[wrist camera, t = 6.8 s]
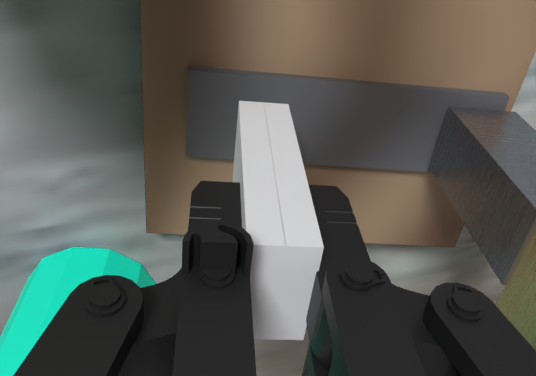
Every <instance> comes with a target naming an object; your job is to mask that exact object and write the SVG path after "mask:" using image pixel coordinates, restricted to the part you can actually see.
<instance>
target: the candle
mask: <svg viewBox="0 0 536 376" xmlns="http://www.w3.org/2000/svg"><path fill="white" fill-rule="evenodd" d="M104 275H117V276H123V277H125V278H128V279H131V280H132V281H134V282H135V283H136V284H137V285H138V286H139V287H140V288H142V287H147V286H151V285H155V282H154V281H153V280H152V278H151V277H150V276H149V274H148V273H147V272H146V270H145V269H144V268H143V266H142V265H141V264H139V263H137V262H135V261H133V260H131V259H129V258H127V257H125V256H123V255H121V254H119V253H117V252H115V251H113V250H111V249H99V248H85V247H71V248H68V249H66V250H63V251H60V252H57V253H55V254H52V255H49V256H46V257H44V258H42V260H41V261H40V262H39V264H38V265H37V267H36V268H35V269H34V271H33V272H32V274H31V275H30V276H29V278H28V279H27V282H26V284H25V286H24V288H23V290H22V292H21V294H20V296H19V298H18V301H17V303H16V305H15V307H14V309H13V311H12V313H11V315H10V317H9V320H8V322H7V324H6V326H5V328H4V330H3V332H2V334H1V336H0V376H13V375H14V374H15V372H16V371H17V369H18V368H19V367H20V365H21V364H22V362H23V361H24V359H25V358H26V356H27V355H28V354H29V352H30V351H31V349H32V348H33V346H34V345H35V344H36V342H37V341H38V339H39V338H40V336H41V335H42V333H43V332H44V331H45V329H46V328H47V326H48V325H49V323H50V322H51V320H52V319H53V318H54V316H55V315H56V313H57V312H58V310H59V309H60V307H61V306H62V305H63V303H64V302H65V300H66V299H67V297H68V296H69V294H70V293H71V292H72V291H73V290H74V289H75V288H76V287H77V286H78V285H79V284H81V283H83V282H85V281H87V280H89V279H91V278H94V277H99V276H104Z"/></svg>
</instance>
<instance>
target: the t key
mask: <svg viewBox="0 0 536 376" xmlns="http://www.w3.org/2000/svg"><path fill="white" fill-rule="evenodd" d="M429 168H430V170H431V171H432V173H433V174H434V176H435V178H436V179H437V181H438V182H439V184H440V186H441V187H442V189H443V190H444V192H445V194H446V195H447V197H448V198H449V200H450V202H451V203H452V205H453V206H454V208H455V210H456V211H457V213H458V214H459V216H460V218H461V219H462V221H463V222H464V224H465V226H466V227H467V229H468V230H469V232H470V234H471V235H472V237H473V238H474V240H475V242H476V243H477V245H478V246H479V248H480V250H481V251H482V253H483V254H484V256H485V258H486V259H487V261H488V262H489V264H490V266H491V267H492V269H493V270H494V272H495V274H496V275H497V277H498V278H499V280H500V282H501V283H502V285H505V287H504V289H503V291H502V293H501V295H500V297H499V299H498V301H497V303H496V306H497V308H498V309H499V310H500V311H501V312H502V313H503V314H504V316H505V317H506V318H507V319H508V320H509V321H510V322H511V323H512V325H513V326H514V327H515V328H516V329H517V330H518V331H519V332H520V334H521V335H522V336H523V337H524V338H525V339H526V340H527V341H528V343H529V344H530V345H531V346H532V347H533V348H534V349H535V351H536V131H535V130H534V129H533V128H532V127H531V126H530V125H529V124H528V123H527V122H526V121H525V120H524V119H522V118H521V117H520V116H519V115H518V114H517V113H516V112H510V111H498V110H485V109H473V108H460V107H449V108H448V111H447V114H446V117H445V120H444V123H443V126H442V129H441V132H440V135H439V138H438V141H437V144H436V147H435V150H434V153H433V156H432V159H431V162H430V165H429Z"/></svg>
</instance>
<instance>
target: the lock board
mask: <svg viewBox="0 0 536 376" xmlns="http://www.w3.org/2000/svg"><path fill="white" fill-rule="evenodd" d="M140 24H141V59H142V94H143V129H144V165H145V200H146V233H160V234H181V235H185V234H186V232H188V224H189V214H190V203H191V193H192V191H193V190H194V188H195V187H196V186H197V185H198V184H199V182H200V181H218V182H233V167H234V154H235V142H236V129H237V117H238V105H239V101H251V102H265V103H280V104H289V109H290V113H291V117H292V121H293V125H294V129H295V133H296V137H297V141H298V145H299V149H300V153H301V157H302V161H303V165H304V169H305V173H306V177H307V181H308V185H324V186H337V187H338V188H339V189H340V190H341V191H342V192H343V193H344V194H345V195H346V196H347V197H348V198H349V201H350V204H351V207H352V210H353V213H354V215H355V218H356V221H357V224H358V227H359V230H360V232H361V235H362V238H363V241H364V243H373V244H394V245H416V246H437V247H455V245H456V242H457V240H458V238H459V235H460V233H461V230H462V228H463V225H464V222H463V221H462V219H461V218H460V216H459V214H458V213H457V211H456V210H455V208H454V206H453V205H452V203H451V202H450V200H449V198H448V197H447V195H446V194H445V192H444V190H443V189H442V187H441V186H440V184H439V182H438V181H437V179H436V178H435V176H434V174H433V173H432V171H431V170H430V168H429V165H430V162H431V159H432V156H433V153H434V150H435V147H436V144H437V141H438V138H439V135H440V132H441V129H442V126H443V123H444V120H445V117H446V114H447V111H448V108H449V107H460V108H473V109H485V110H498V111H510V112H511V109H512V107H513V104H514V102H515V100H516V97H517V95H518V92H519V90H520V88H521V85H522V83H523V80H524V78H525V75H526V73H527V71H528V68H529V66H530V63H531V61H532V59H533V56H534V54H535V51H536V0H140Z"/></svg>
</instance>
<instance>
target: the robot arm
mask: <svg viewBox="0 0 536 376" xmlns="http://www.w3.org/2000/svg"><path fill="white" fill-rule="evenodd" d="M306 326H307V328H308V334H309V340H310V343H309V347H308V351H307V356H306V360H305V364H304V369H303V373H302V376H308V375H309V376H536V351H535V349H534V348H533V347H532V346H531V345H530V344H529V343H528V341H527V340H526V339H525V338H524V337H523V336H522V335H521V334H520V332H519V331H518V330H517V329H516V328H515V327H514V326H513V325H512V323H511V322H510V321H509V320H508V319H507V318H506V317H505V316H504V314H503V313H502V312H501V311H500V310H499V309H498V308H497V306H496V305H495V304H494V303H493V302H492V301H491V300H490V299H489V298H487V297H486V296H485V295H484V294H483V293H481V292H480V291H478V290H476V289H474V288H472V287H470V286H467V285H463V284H459V283H444V284H441V285H439V286H436V287H435V289H434V290H433V291H432V293H431V295H430V296H427V295H424V294H420V293H416V292H413V291H409V290H406V289H403V288H400V287H397V286H395V285H393V284H391V281H390V279H389V278H388V276H387V274H386V273H385V271H384V270H383V269H381V268H380V267H379V266H378V265H376V264H375V263H373V262H371V261H370V258H369V255H368V252H367V249H366V247H365V244H364V241H363V238H362V235H361V232H360V230H359V227H358V224H357V221H356V218H355V215H354V213H353V210H352V207H351V204H350V201H349V198H348V197H347V196H346V195H345V194H344V193H343V192H342V191H341V190H340V189H339V188H338V187H337V186H324V185H308V181H307V177H306V173H305V169H304V165H303V161H302V157H301V153H300V149H299V145H298V141H297V137H296V133H295V129H294V125H293V121H292V117H291V113H290V109H289V104H280V103H265V102H251V101H239V105H238V117H237V129H236V142H235V154H234V167H233V182H218V181H200V182H199V184H198V185H197V186H196V187H195V188H194V190H193V191H192V193H191V203H190V214H189V224H188V232H186V234H185V237H184V239H183V247H182V268H181V269H180V271H179V272H178V273H177V274H175V275H174V276H173V277H172V278H170V279H168V280H166V281H164V282H161V283H158V284H155V285H151V286H147V287H142V288H140V287H139V286H138V285H137V284H136V283H135V282H134V281H132V280H131V279H128V278H125V277H123V276H117V275H104V276H99V277H94V278H91V279H89V280H87V281H85V282H83V283H81V284H79V285H78V286H77V287H76V288H75V289H74V290H73V291H72V292H71V293H70V294H69V296H68V297H67V299H66V300H65V302H64V303H63V305H62V306H61V307H60V309H59V310H58V312H57V313H56V315H55V316H54V318H53V319H52V320H51V322H50V323H49V325H48V326H47V328H46V329H45V331H44V332H43V333H42V335H41V336H40V338H39V339H38V341H37V342H36V344H35V345H34V346H33V348H32V349H31V351H30V352H29V354H28V355H27V356H26V358H25V359H24V361H23V362H22V364H21V365H20V367H19V368H18V369H17V371H16V372H15V374H14V375H13V376H256V365H255V349H254V340H304V335H305V331H306Z"/></svg>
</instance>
